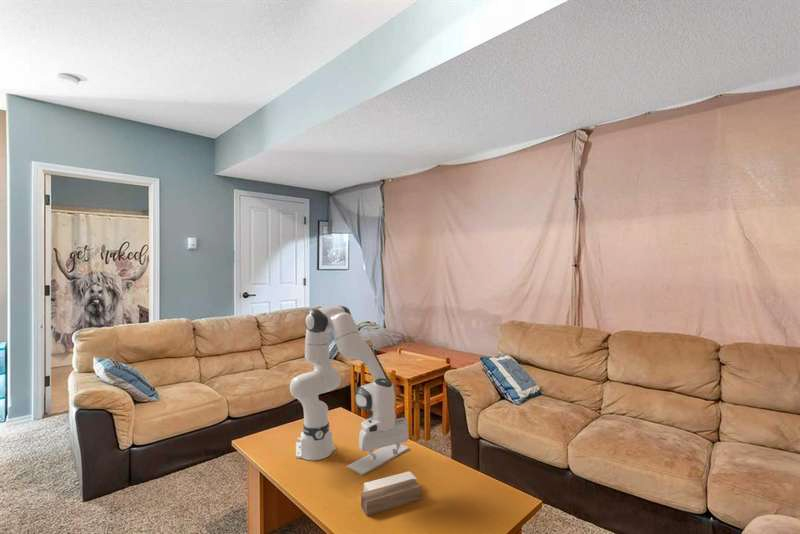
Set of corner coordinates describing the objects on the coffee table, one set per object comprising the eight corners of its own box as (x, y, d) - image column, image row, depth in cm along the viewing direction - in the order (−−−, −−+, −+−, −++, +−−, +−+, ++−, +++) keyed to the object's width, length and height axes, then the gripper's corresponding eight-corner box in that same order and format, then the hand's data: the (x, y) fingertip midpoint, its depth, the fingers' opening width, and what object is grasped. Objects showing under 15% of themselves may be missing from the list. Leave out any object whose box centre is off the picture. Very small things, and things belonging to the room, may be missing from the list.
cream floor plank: (363, 495, 150) (363, 483, 150) (409, 483, 159) (409, 471, 159) (369, 504, 145) (369, 491, 145) (416, 490, 154) (416, 478, 154)
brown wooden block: (360, 506, 143) (360, 493, 143) (413, 491, 153) (413, 478, 153) (366, 516, 138) (366, 502, 138) (420, 499, 148) (420, 486, 148)
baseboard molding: (343, 467, 172) (362, 477, 164) (343, 460, 172) (362, 470, 164) (391, 442, 195) (409, 450, 187) (391, 437, 195) (409, 444, 187)
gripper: (403, 414, 159) (404, 447, 159) (357, 423, 150) (357, 459, 150) (411, 419, 154) (411, 454, 154) (362, 429, 145) (363, 466, 145)
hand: (384, 456), depth 152 cm, fingers open, 8 cm apart
